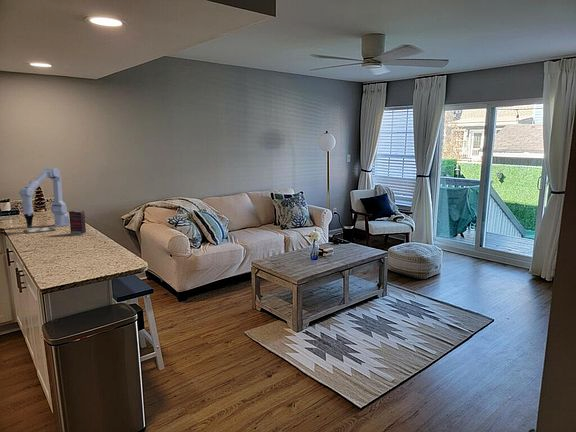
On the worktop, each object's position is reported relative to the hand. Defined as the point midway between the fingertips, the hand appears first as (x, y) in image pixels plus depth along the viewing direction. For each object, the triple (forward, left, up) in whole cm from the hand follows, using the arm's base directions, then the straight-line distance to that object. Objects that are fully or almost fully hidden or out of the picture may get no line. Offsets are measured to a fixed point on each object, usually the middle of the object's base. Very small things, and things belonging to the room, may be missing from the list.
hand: (29, 224), depth 277 cm
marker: (0, 0, -2) cm, 2 cm away
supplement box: (-26, +24, -6) cm, 36 cm away
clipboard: (-6, -3, -6) cm, 9 cm away
